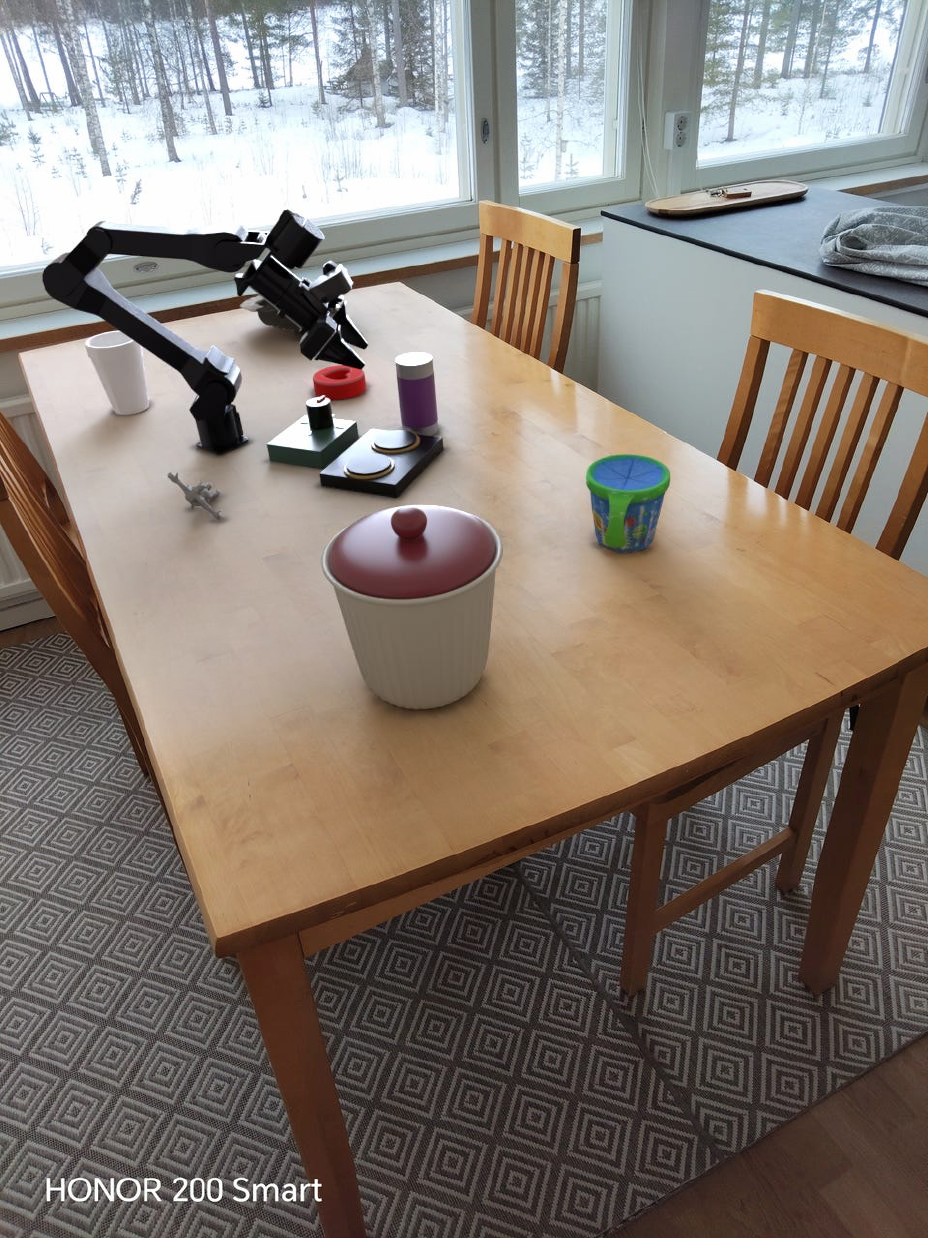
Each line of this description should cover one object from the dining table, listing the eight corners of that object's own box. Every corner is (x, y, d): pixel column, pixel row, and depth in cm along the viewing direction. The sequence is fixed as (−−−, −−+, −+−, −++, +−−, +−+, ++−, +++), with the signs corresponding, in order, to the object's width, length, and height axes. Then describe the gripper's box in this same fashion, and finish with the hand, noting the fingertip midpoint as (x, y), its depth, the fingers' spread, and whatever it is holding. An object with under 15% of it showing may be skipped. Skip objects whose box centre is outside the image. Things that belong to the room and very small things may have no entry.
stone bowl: (339, 344, 190) (329, 299, 185) (230, 351, 196) (218, 309, 191) (371, 305, 209) (363, 264, 204) (272, 313, 215) (261, 273, 210)
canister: (501, 624, 107) (495, 461, 95) (513, 728, 92) (508, 551, 80) (349, 634, 107) (323, 473, 95) (337, 739, 93) (304, 565, 80)
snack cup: (647, 578, 113) (653, 506, 107) (567, 563, 117) (568, 493, 111) (677, 519, 125) (684, 451, 119) (603, 507, 128) (606, 440, 122)
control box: (269, 461, 147) (266, 443, 145) (311, 428, 157) (308, 411, 155) (323, 468, 144) (320, 450, 142) (362, 435, 153) (359, 417, 151)
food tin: (422, 441, 150) (415, 368, 142) (395, 433, 153) (387, 361, 146) (445, 428, 153) (440, 356, 146) (418, 420, 157) (412, 349, 149)
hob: (321, 486, 139) (318, 469, 137) (372, 440, 151) (370, 424, 149) (397, 498, 134) (395, 480, 132) (443, 449, 147) (442, 433, 145)
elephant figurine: (249, 498, 137) (227, 507, 128) (226, 527, 139) (203, 538, 130) (197, 453, 136) (172, 459, 128) (175, 483, 138) (148, 491, 129)
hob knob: (326, 430, 148) (322, 405, 145) (304, 428, 149) (300, 403, 147) (338, 421, 151) (334, 396, 148) (317, 418, 152) (313, 394, 150)
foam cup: (165, 397, 172) (147, 329, 165) (146, 417, 165) (127, 347, 157) (117, 398, 173) (97, 330, 166) (97, 418, 166) (75, 348, 158)
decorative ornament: (309, 386, 173) (307, 370, 171) (358, 376, 175) (356, 360, 173) (322, 403, 165) (319, 387, 164) (372, 393, 168) (370, 376, 166)
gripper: (309, 266, 128) (395, 338, 134) (321, 234, 143) (398, 300, 150) (264, 325, 133) (349, 392, 139) (280, 289, 148) (356, 351, 154)
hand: (365, 356), depth 145 cm, fingers open, 9 cm apart
